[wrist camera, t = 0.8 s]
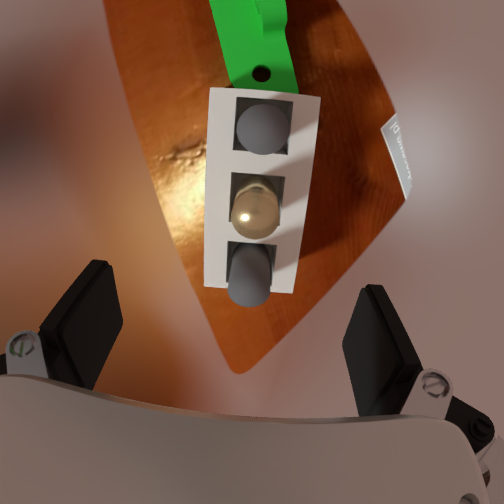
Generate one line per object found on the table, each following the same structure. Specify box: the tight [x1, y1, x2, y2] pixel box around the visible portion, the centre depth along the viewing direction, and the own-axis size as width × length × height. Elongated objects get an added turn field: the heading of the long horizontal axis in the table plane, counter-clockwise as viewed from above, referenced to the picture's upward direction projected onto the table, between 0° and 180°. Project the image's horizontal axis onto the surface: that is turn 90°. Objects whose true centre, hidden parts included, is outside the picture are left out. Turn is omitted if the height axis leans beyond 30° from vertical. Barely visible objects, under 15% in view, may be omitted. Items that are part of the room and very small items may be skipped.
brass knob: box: [231, 175, 280, 240], centre depth 25 cm, size 4×4×6 cm
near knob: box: [237, 104, 290, 155], centre depth 22 cm, size 4×4×6 cm
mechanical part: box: [209, 0, 299, 100], centre depth 21 cm, size 12×6×8 cm, turn 13°
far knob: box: [228, 242, 270, 307], centre depth 28 cm, size 4×4×6 cm
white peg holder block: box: [204, 88, 321, 293], centre depth 29 cm, size 19×9×6 cm, turn 176°
